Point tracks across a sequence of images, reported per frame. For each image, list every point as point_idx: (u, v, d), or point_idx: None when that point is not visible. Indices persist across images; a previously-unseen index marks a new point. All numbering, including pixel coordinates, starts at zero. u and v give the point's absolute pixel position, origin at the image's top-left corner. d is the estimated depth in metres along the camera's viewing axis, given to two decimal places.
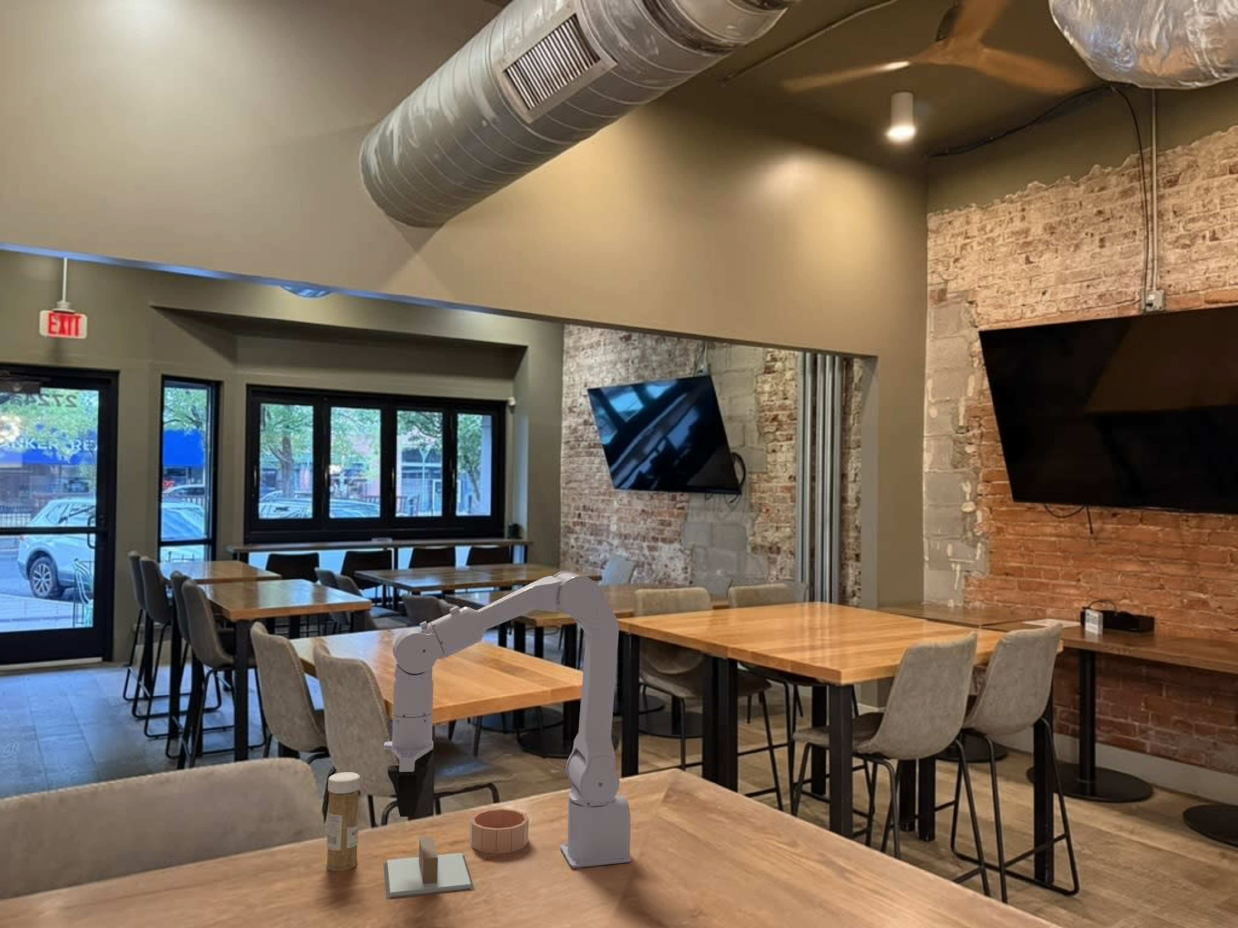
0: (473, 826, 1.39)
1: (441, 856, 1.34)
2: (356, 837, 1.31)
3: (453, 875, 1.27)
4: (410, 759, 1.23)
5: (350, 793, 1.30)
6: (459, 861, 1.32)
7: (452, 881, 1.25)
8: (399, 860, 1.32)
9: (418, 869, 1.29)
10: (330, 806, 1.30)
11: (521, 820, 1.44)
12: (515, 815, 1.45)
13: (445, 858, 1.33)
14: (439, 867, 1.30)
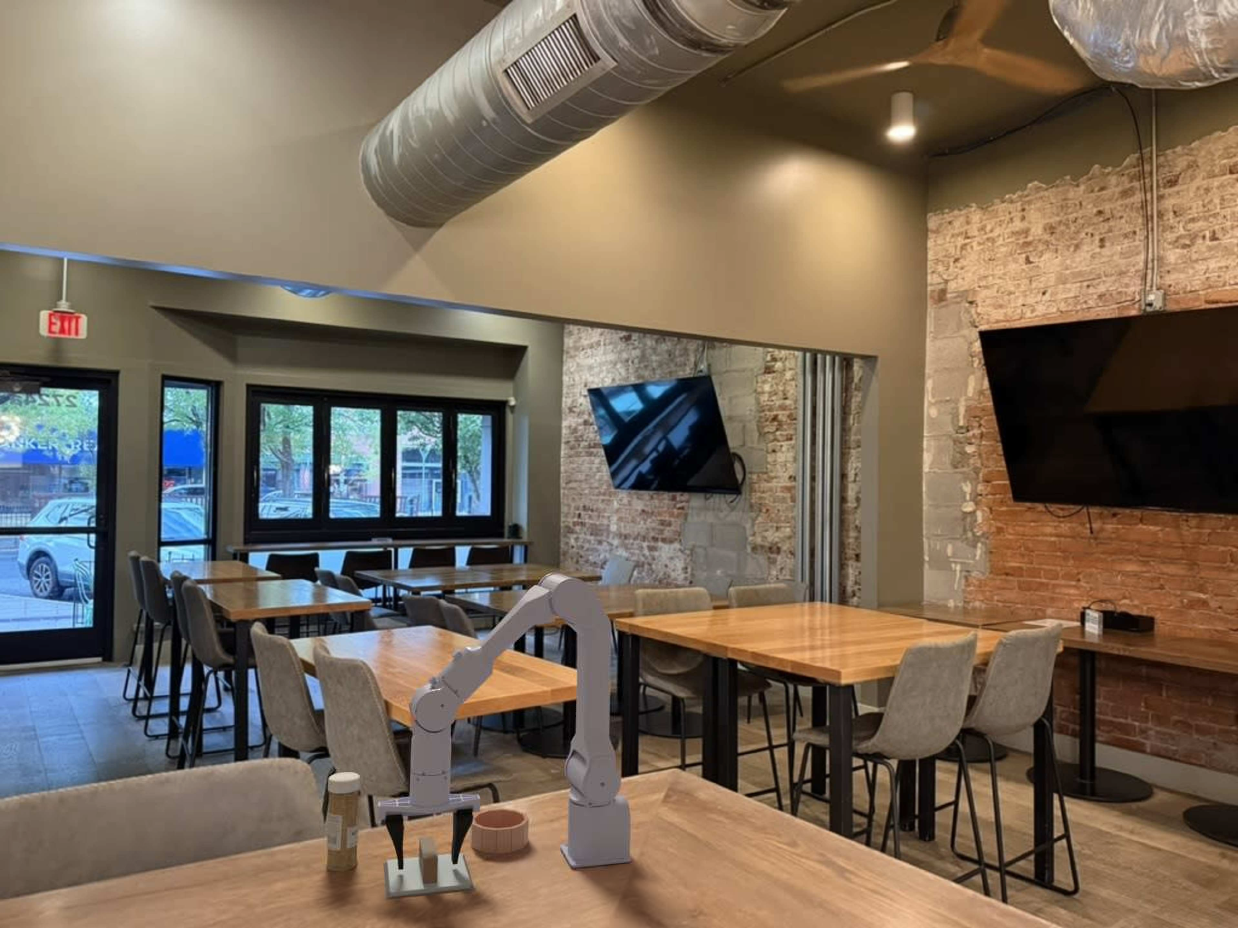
0: (473, 826, 1.39)
1: (441, 856, 1.34)
2: (356, 837, 1.31)
3: (453, 875, 1.27)
4: None
5: (350, 793, 1.30)
6: (459, 861, 1.32)
7: (452, 881, 1.25)
8: None
9: (418, 869, 1.29)
10: (330, 806, 1.30)
11: (521, 820, 1.44)
12: (515, 815, 1.45)
13: (445, 858, 1.33)
14: (439, 867, 1.30)
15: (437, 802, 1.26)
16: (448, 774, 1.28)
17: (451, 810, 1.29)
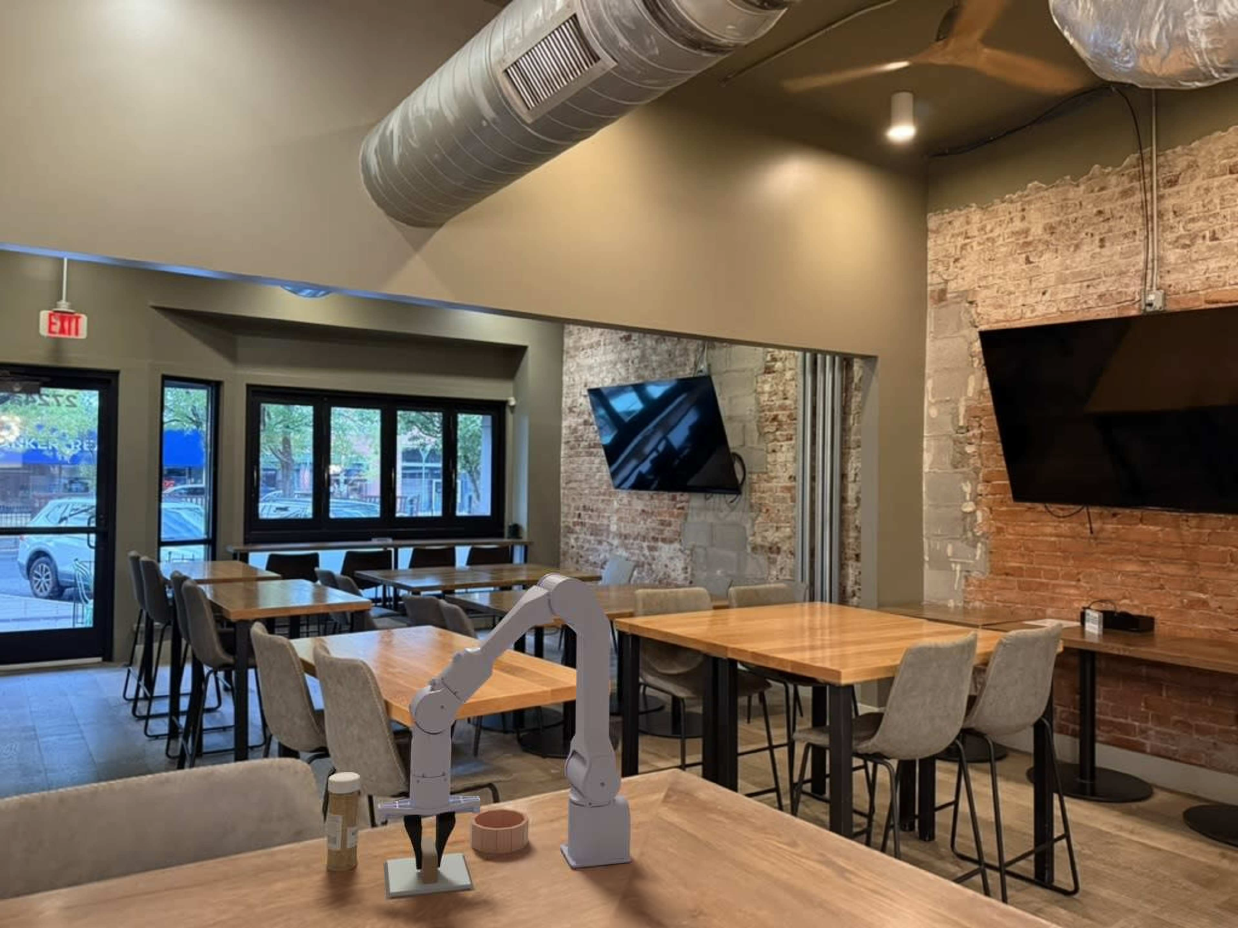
0: (473, 826, 1.39)
1: None
2: (356, 837, 1.31)
3: (453, 875, 1.27)
4: None
5: (350, 793, 1.30)
6: (459, 861, 1.32)
7: (452, 881, 1.25)
8: (399, 860, 1.32)
9: None
10: (330, 806, 1.30)
11: (521, 820, 1.44)
12: (515, 815, 1.45)
13: (445, 858, 1.33)
14: None
15: (437, 804, 1.26)
16: (448, 776, 1.28)
17: (451, 812, 1.29)
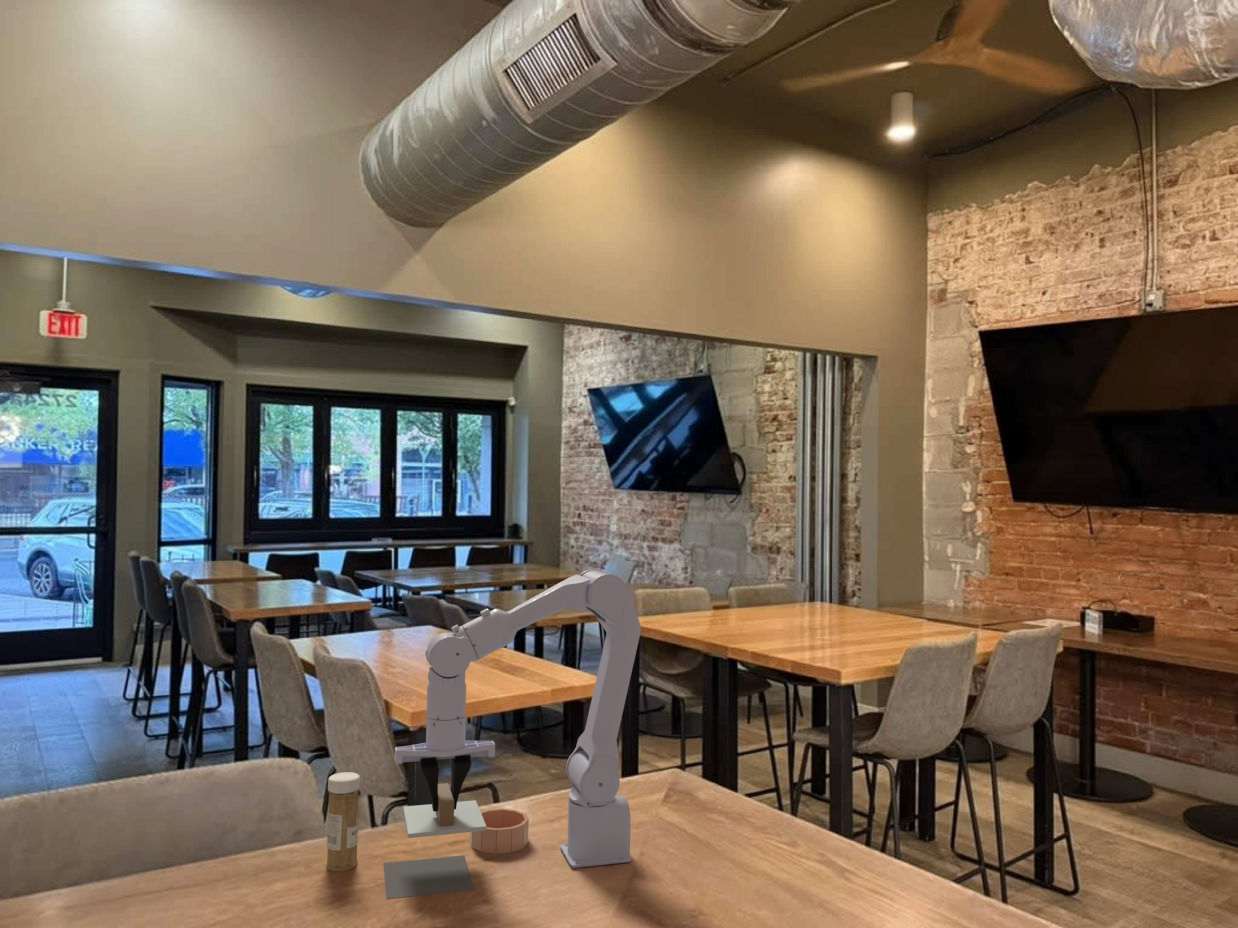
0: None
1: None
2: (356, 837, 1.31)
3: (469, 819, 1.30)
4: (395, 751, 1.29)
5: (350, 793, 1.30)
6: (474, 807, 1.35)
7: (468, 824, 1.28)
8: (415, 806, 1.34)
9: (434, 814, 1.32)
10: (330, 806, 1.30)
11: (521, 820, 1.44)
12: (515, 815, 1.45)
13: (460, 805, 1.36)
14: (455, 812, 1.32)
15: (453, 746, 1.29)
16: (463, 720, 1.31)
17: (466, 755, 1.32)
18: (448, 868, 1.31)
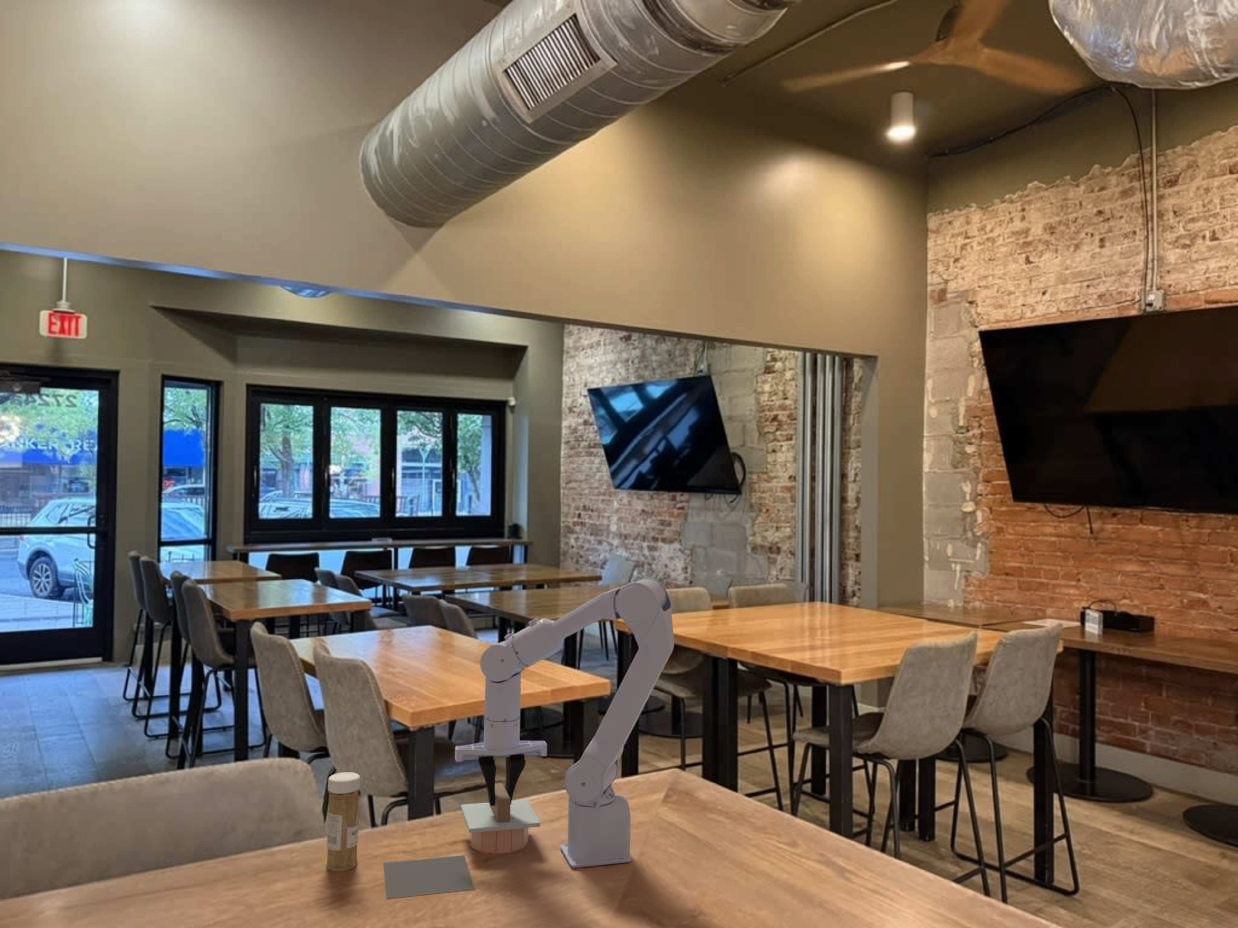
0: None
1: None
2: (356, 837, 1.31)
3: (523, 816, 1.40)
4: None
5: (350, 793, 1.30)
6: (526, 805, 1.45)
7: (523, 820, 1.38)
8: (472, 804, 1.45)
9: (490, 811, 1.42)
10: (330, 806, 1.30)
11: None
12: None
13: (513, 803, 1.46)
14: (509, 810, 1.43)
15: (509, 746, 1.39)
16: (518, 721, 1.41)
17: (521, 754, 1.42)
18: (448, 868, 1.31)
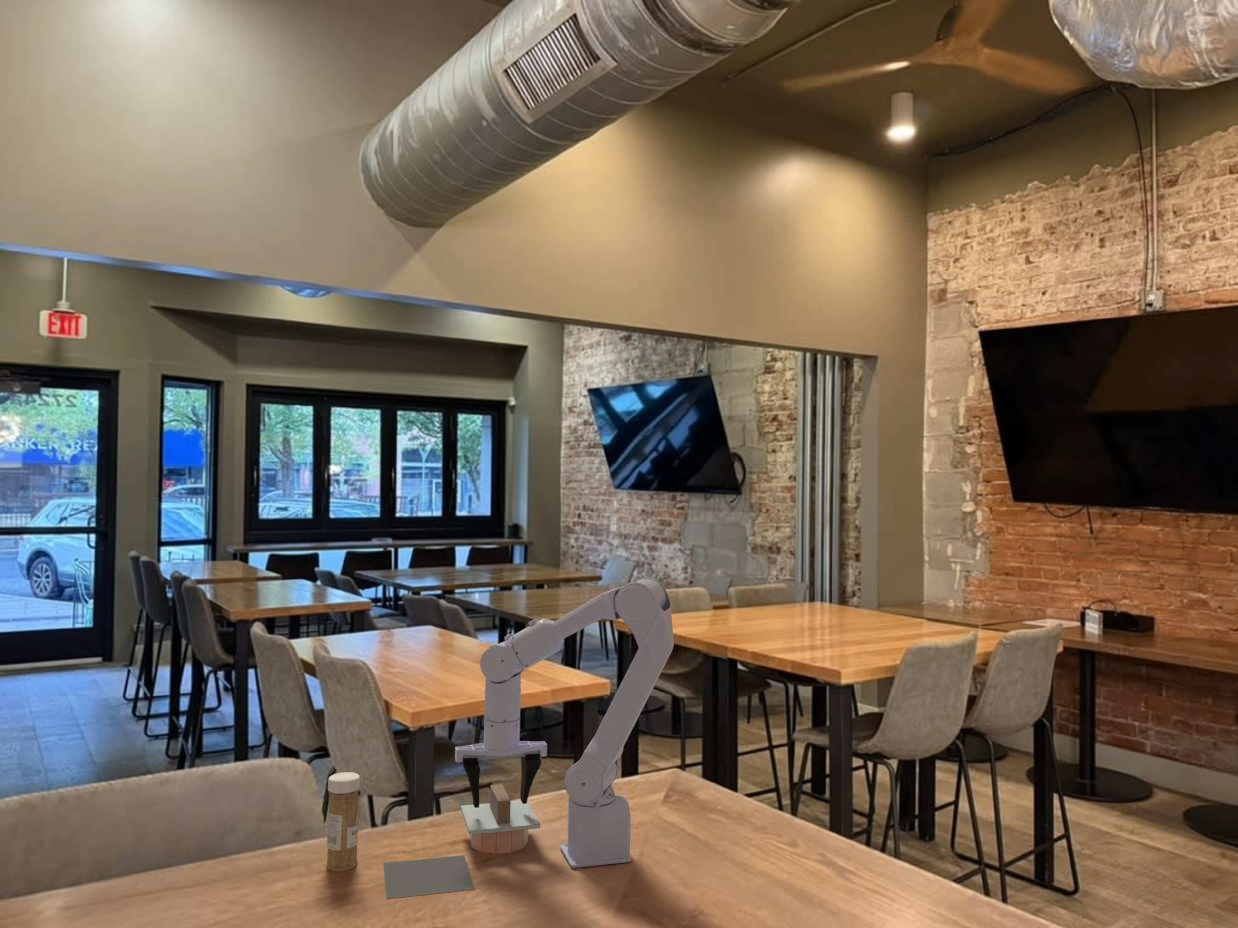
0: None
1: None
2: (356, 837, 1.31)
3: (523, 817, 1.40)
4: None
5: (350, 793, 1.30)
6: (526, 806, 1.45)
7: (523, 822, 1.38)
8: (472, 805, 1.45)
9: (490, 813, 1.42)
10: (330, 806, 1.30)
11: None
12: None
13: (513, 804, 1.46)
14: (509, 811, 1.43)
15: (509, 746, 1.39)
16: (518, 722, 1.41)
17: (521, 755, 1.42)
18: (448, 868, 1.31)
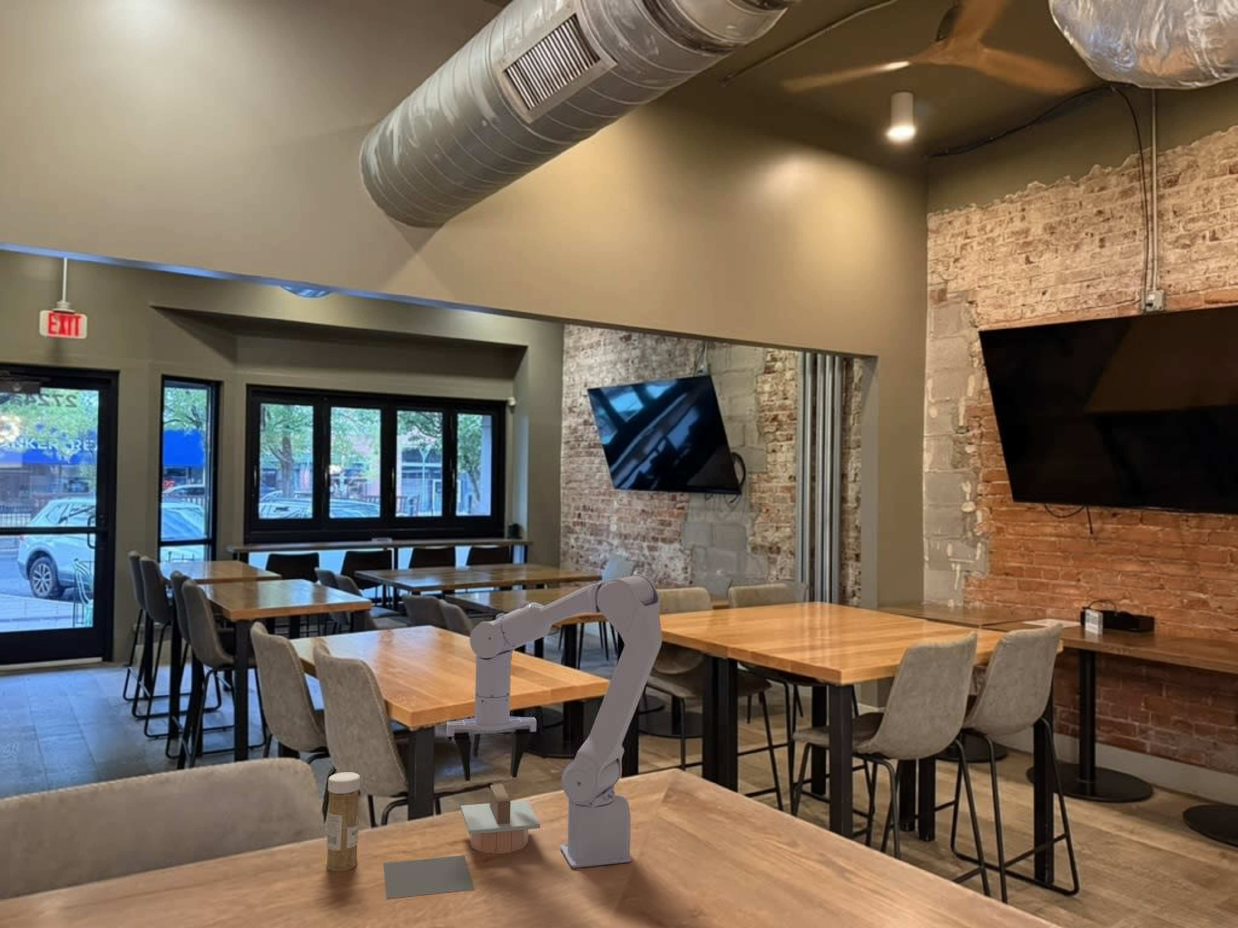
0: None
1: None
2: (356, 837, 1.31)
3: (523, 817, 1.40)
4: (448, 725, 1.43)
5: (350, 793, 1.30)
6: (526, 806, 1.45)
7: (523, 822, 1.38)
8: (472, 805, 1.45)
9: (490, 813, 1.42)
10: (330, 806, 1.30)
11: None
12: None
13: (513, 804, 1.46)
14: (509, 811, 1.43)
15: (499, 721, 1.43)
16: (508, 697, 1.45)
17: (511, 730, 1.46)
18: (448, 868, 1.31)
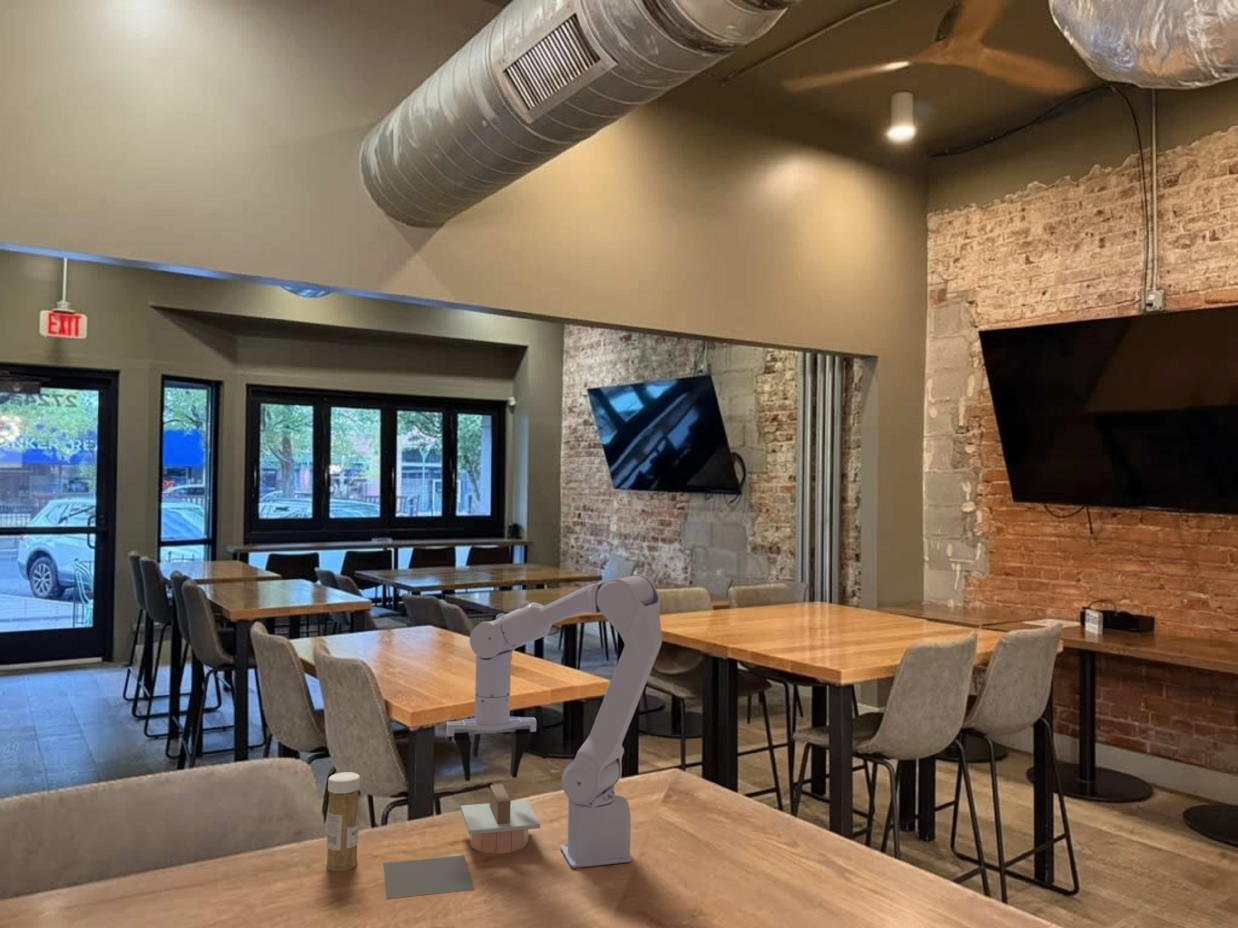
0: None
1: None
2: (356, 837, 1.31)
3: (523, 817, 1.40)
4: (448, 725, 1.43)
5: (350, 793, 1.30)
6: (526, 806, 1.45)
7: (523, 822, 1.38)
8: (472, 805, 1.45)
9: (490, 813, 1.42)
10: (330, 806, 1.30)
11: None
12: None
13: (513, 804, 1.46)
14: (509, 811, 1.43)
15: (499, 721, 1.43)
16: (508, 697, 1.45)
17: (511, 730, 1.46)
18: (448, 868, 1.31)
